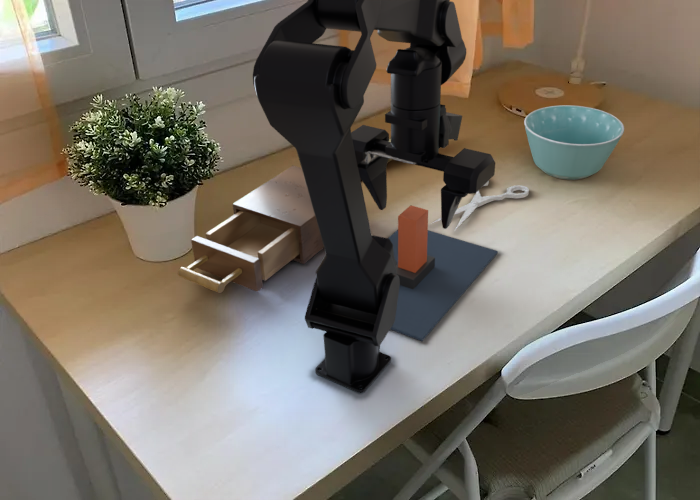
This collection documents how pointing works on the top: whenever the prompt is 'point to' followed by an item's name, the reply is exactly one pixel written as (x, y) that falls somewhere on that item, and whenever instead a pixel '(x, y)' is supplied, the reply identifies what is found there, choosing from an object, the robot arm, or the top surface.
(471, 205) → the scissors
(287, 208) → the cabinet
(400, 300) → the mat
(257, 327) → the top surface
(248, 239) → the drawer
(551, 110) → the bowl
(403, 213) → the stamp
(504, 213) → the top surface
